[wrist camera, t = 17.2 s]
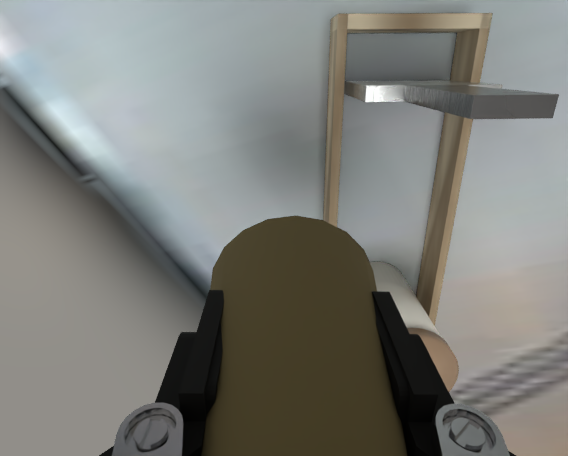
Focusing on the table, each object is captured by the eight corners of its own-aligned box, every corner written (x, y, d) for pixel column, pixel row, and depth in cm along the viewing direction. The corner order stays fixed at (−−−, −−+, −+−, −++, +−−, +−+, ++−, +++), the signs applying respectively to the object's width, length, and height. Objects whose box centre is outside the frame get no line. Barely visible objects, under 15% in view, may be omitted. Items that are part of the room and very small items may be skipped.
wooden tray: (468, 18, 25) (512, 8, 20) (417, 329, 35) (439, 368, 31) (330, 19, 25) (344, 8, 20) (318, 331, 35) (326, 371, 30)
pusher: (446, 80, 26) (617, 94, 13) (444, 92, 27) (609, 117, 14) (343, 80, 26) (414, 95, 13) (342, 93, 26) (411, 119, 13)
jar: (411, 259, 32) (466, 337, 23) (402, 319, 35) (449, 410, 25) (339, 261, 32) (366, 339, 23) (335, 320, 35) (358, 413, 25)
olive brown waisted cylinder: (317, 181, 12) (502, 760, 2) (403, 308, 14) (701, 904, 4) (175, 274, 14) (-125, 897, 3) (272, 377, 16) (261, 955, 6)
